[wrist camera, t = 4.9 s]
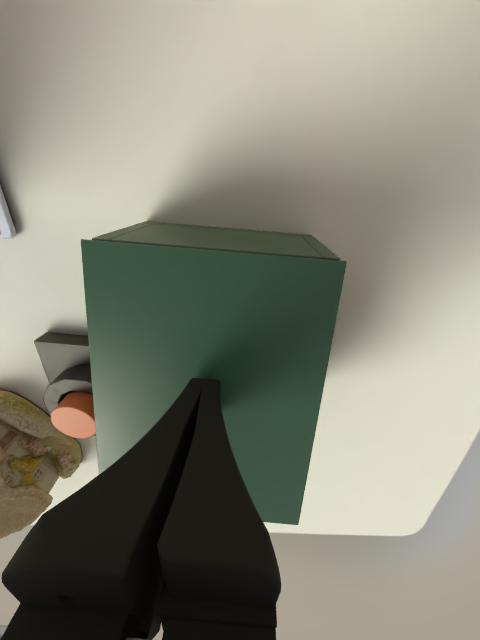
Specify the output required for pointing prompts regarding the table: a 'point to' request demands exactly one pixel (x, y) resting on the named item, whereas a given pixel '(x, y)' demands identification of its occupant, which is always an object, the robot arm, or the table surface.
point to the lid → (213, 352)
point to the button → (75, 415)
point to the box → (221, 240)
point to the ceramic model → (30, 461)
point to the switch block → (64, 366)
